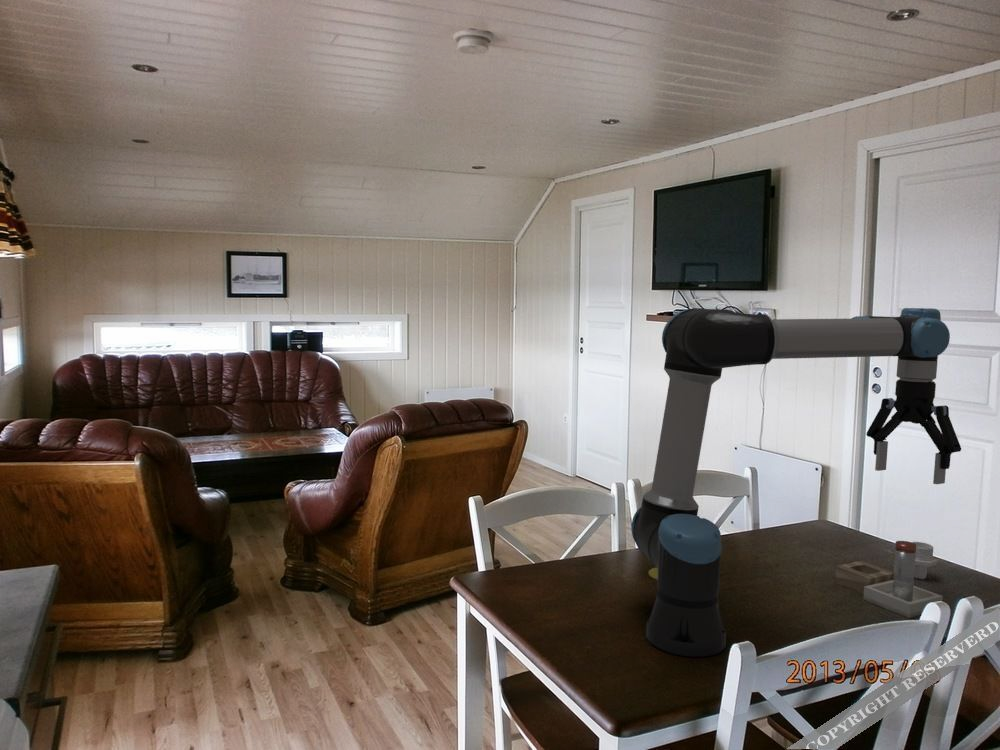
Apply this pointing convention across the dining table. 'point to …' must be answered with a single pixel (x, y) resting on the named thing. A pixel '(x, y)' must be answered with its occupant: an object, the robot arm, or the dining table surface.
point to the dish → (884, 598)
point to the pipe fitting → (923, 559)
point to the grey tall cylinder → (904, 570)
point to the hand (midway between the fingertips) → (908, 476)
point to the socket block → (861, 575)
